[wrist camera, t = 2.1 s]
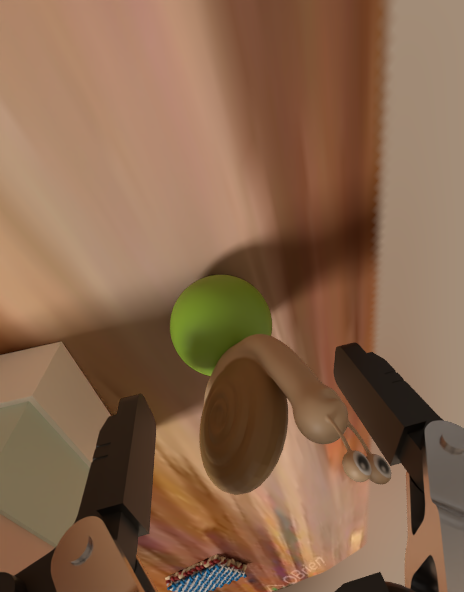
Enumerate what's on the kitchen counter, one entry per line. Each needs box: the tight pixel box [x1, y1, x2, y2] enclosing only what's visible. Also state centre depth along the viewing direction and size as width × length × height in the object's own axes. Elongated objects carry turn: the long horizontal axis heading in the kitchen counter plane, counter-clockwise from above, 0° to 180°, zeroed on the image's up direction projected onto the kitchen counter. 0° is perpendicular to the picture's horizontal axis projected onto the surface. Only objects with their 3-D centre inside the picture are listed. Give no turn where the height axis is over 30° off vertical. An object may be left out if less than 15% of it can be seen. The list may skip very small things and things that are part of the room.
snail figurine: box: [170, 275, 391, 495], centre depth 11 cm, size 5×6×12 cm
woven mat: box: [165, 555, 247, 592], centre depth 44 cm, size 10×11×2 cm
